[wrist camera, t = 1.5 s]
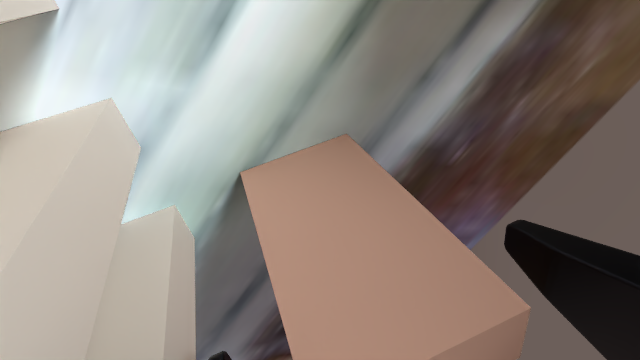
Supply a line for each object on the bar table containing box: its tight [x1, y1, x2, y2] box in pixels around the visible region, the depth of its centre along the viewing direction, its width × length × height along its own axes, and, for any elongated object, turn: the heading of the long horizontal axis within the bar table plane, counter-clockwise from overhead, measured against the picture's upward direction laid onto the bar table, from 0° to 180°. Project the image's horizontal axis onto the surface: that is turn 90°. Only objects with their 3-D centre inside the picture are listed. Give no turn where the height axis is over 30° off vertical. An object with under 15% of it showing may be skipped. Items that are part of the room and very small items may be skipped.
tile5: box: [85, 205, 196, 360], centre depth 10 cm, size 2×5×10 cm, turn 103°
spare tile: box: [240, 134, 531, 360], centre depth 11 cm, size 2×5×10 cm, turn 103°
